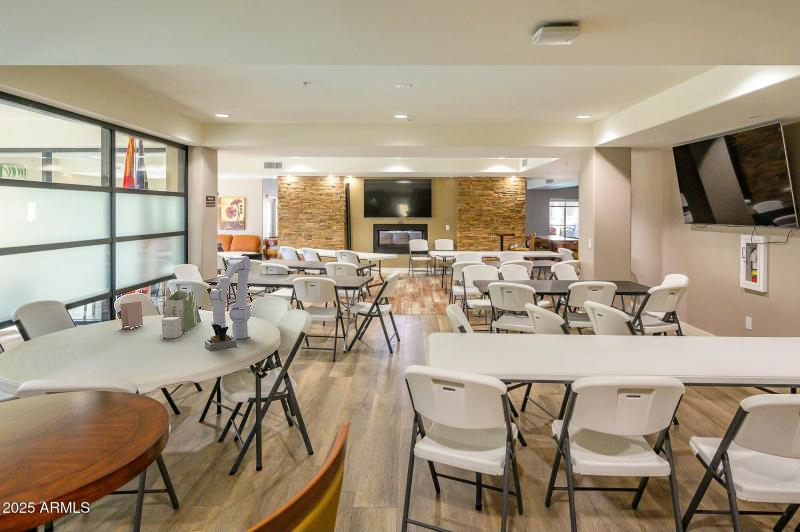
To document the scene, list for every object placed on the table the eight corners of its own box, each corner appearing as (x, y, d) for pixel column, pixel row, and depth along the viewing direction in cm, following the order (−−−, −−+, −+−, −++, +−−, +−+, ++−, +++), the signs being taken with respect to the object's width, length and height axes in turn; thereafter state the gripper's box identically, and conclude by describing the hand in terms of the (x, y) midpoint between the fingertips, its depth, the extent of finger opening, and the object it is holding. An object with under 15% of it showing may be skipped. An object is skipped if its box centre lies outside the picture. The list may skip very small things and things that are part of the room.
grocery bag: (188, 332, 278) (185, 292, 276) (162, 334, 276) (159, 293, 274) (202, 320, 310) (199, 284, 307) (179, 321, 308) (176, 285, 305)
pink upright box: (142, 325, 299) (140, 301, 297) (146, 327, 294) (144, 302, 292) (121, 328, 291) (119, 303, 290) (125, 330, 286) (123, 305, 284)
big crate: (204, 346, 248) (204, 340, 248) (230, 341, 256) (230, 336, 255) (210, 350, 240) (209, 344, 240) (236, 345, 248) (236, 340, 247)
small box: (181, 335, 271) (180, 317, 270) (176, 338, 266) (175, 319, 265) (168, 335, 272) (167, 317, 271) (162, 338, 266) (161, 319, 265)
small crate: (211, 345, 248) (210, 336, 247) (227, 342, 252) (226, 334, 252) (213, 347, 243) (213, 338, 243) (230, 344, 248) (229, 335, 248)
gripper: (207, 311, 250) (208, 337, 251) (214, 315, 238) (216, 343, 239) (221, 309, 254) (222, 335, 255) (229, 314, 242) (230, 340, 243)
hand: (220, 339), depth 247 cm, fingers open, 7 cm apart
